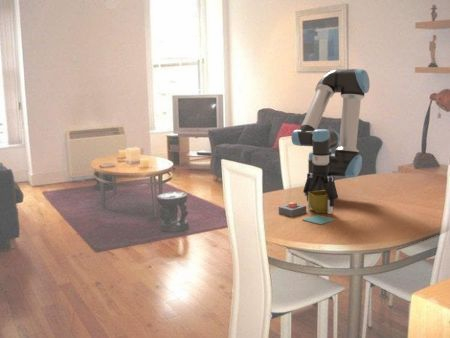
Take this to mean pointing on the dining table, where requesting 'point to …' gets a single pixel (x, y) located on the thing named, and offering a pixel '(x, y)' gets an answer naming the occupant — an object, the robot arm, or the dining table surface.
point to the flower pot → (318, 201)
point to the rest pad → (318, 219)
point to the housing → (292, 210)
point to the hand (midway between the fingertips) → (319, 210)
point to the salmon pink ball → (292, 204)
